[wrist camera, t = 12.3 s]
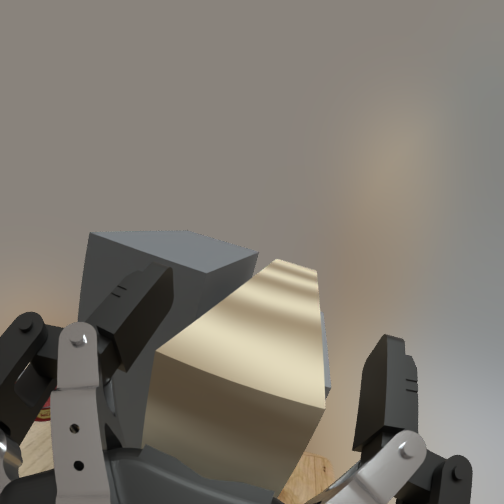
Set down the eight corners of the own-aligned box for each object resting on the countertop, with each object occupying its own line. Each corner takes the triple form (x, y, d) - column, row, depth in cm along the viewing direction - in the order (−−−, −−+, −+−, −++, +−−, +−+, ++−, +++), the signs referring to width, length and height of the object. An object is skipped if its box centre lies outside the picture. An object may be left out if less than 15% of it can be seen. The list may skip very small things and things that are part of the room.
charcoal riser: (220, 573, 18) (358, 320, 15) (87, 514, 21) (89, 232, 17) (249, 488, 34) (335, 275, 30) (145, 447, 37) (187, 230, 33)
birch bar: (270, 508, 6) (325, 409, 6) (139, 460, 7) (155, 350, 7) (304, 309, 30) (316, 270, 29) (265, 297, 31) (276, 258, 30)
